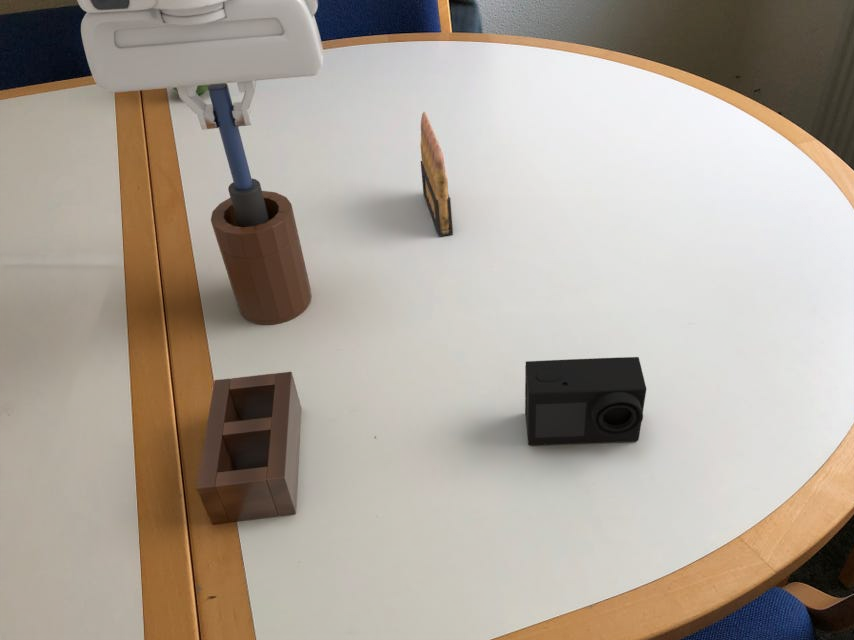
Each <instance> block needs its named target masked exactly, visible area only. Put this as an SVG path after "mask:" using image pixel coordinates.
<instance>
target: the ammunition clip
mask: <svg viewBox="0 0 854 640" xmlns="http://www.w3.org/2000/svg"><path fill="white" fill-rule="evenodd" d="M420 154H421V156H420V157H421V160H420V171H421V179H422V180H421V183H422V193H423V197H424V200H425V203H426V205H427V209H428V211H429V214H430V217H431V220H432V223H433V225H434V228H435V232H436V234H437V237H438V238H441V237H447V236H453V235H454V229H453V217H452V202H451V198H450V197H451V196H450V195H449V185H448V176H447V173H446V166H445V159H444V154H443V151H442V148H441V146H440V144H439V141H438V139H437V137H436V134H435V132H434V128H433V127H432V125H431V122H430V120H429V118H428V115H427V113H426V112H425V111H422V114H421V118H420Z"/></svg>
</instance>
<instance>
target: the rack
mask: <svg viewBox="0 0 854 640" xmlns="http://www.w3.org/2000/svg"><path fill="white" fill-rule="evenodd" d="M213 381H214V382H213V387H212V393H211V398H210V399H211V400H210V405H209V411H208V415H207V423H206V429H205V434H204V439H203V440H204V441H203V447H202V451H201V452H202V453H201V457H200V465H199V470H198V476H197V482H196V487H195V488H196V489H195V490H196V491H197V493H198V496H199V498H200V501H201V503H202V504H203V507H204V510H205V511H206V514H207V516H208V518H209V520H210V523H211V525H218V524H226V523H233V522H241V521H250V520H259V519H265V518H274V517H281V516H282V517H283V516H290V515H296V514H297V503H298V487H299V483H298V482H299V464H300V445H301V444H300V443H301V423H302V405H301V400H300V397H299V394H298V390H297V386H296V383H295V378H294V375H293V372H292V371H283V372H276V373H274V372H273V373H266V374H257V375H249V376H239V377H231V378H223V379H222V378H221V379H215V380H213Z"/></svg>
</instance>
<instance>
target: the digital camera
mask: <svg viewBox="0 0 854 640" xmlns="http://www.w3.org/2000/svg"><path fill="white" fill-rule="evenodd" d="M524 368H525V373H524V375H525V376H524V377H525V379H524V380H525V381H524V397H525V399H524V415H525V425H526V434H527V445H528V446H543V445H544V446H546V445H574V444H599V443H602V444H603V443H621V442H623V443H625V442H639V439H640V434H641V428H642V427H641V426H642V422H643V420H644V407H645V402H646V396H647V386H646V382H645V377H644V372H643V369H642V365H641V360H640V357H639V356H625V357H624V356H622V357H621V356H620V357H598V358H593V357H592V358H570V359H569V358H568V359H549V360H547V359H546V360H530V361H529V360H527V361H525V365H524Z"/></svg>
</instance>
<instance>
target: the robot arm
mask: <svg viewBox="0 0 854 640" xmlns="http://www.w3.org/2000/svg"><path fill="white" fill-rule="evenodd" d="M76 1H77V3H78V5H79V7H80V8H81V10H82V11H84V12H86V13H85V14H84V16H83V18H82V20H81V23H80V34H81V40H82V45H83V49H84V53H85V57H86V60H87V65H88V67H89V70H90V73H91V76H92V78H93V81H94V82H95V84H96V85H97V86H99V87H100V88H101V89H103V91H105V92H107V93H109V94H112V93H113V94H115V93H126V92H127V93H128V92H138V91H148V90H149V91H151V90H160V89H161V90H162V89H173V88H175V87H177V90H178V91H177V93H178V97H179V99H180V100H181V101H182V102H183V103H184V104H185V105H186V106H187V107H188V108H189V109H190V110H191V111H192V112H194V114H196V115H197V118H198V121H199V125H200V127H201V130H213V129H219V127H218V123H217V120H216V116H215V112H214V109H213V105H212V104H207V103H206V102H205V101H204V100H203V99H202V98H201V97H200V96H199V94H197V93H196V89H197V86H199V85H211V84H223V83H226V84H233V83H236V84H237V87H238V92H239V93H241V94H242V93H244V94H243V97H242V99H241V101H238V102H232V104H233V108H232V114H233V118H235V125H236V127H238V128H239V127H248V126H249V127H250V126H253V122H254V119H253V113H252V108H251V103H252V100H253V98H254V95H255V93H256V87H257V81H271V80H282V79H293V78H304V77H306V78H307V77H315V76H317V75H318V74H319V73H320V70H322V68H323V66H324V59H325V57H324V56H325V55H324V48H323V42H322V38H321V34H320V31H319V27H318V23H317V21H316V17H315V15H316V13H317V11H318V8H319V0H76Z"/></svg>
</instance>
